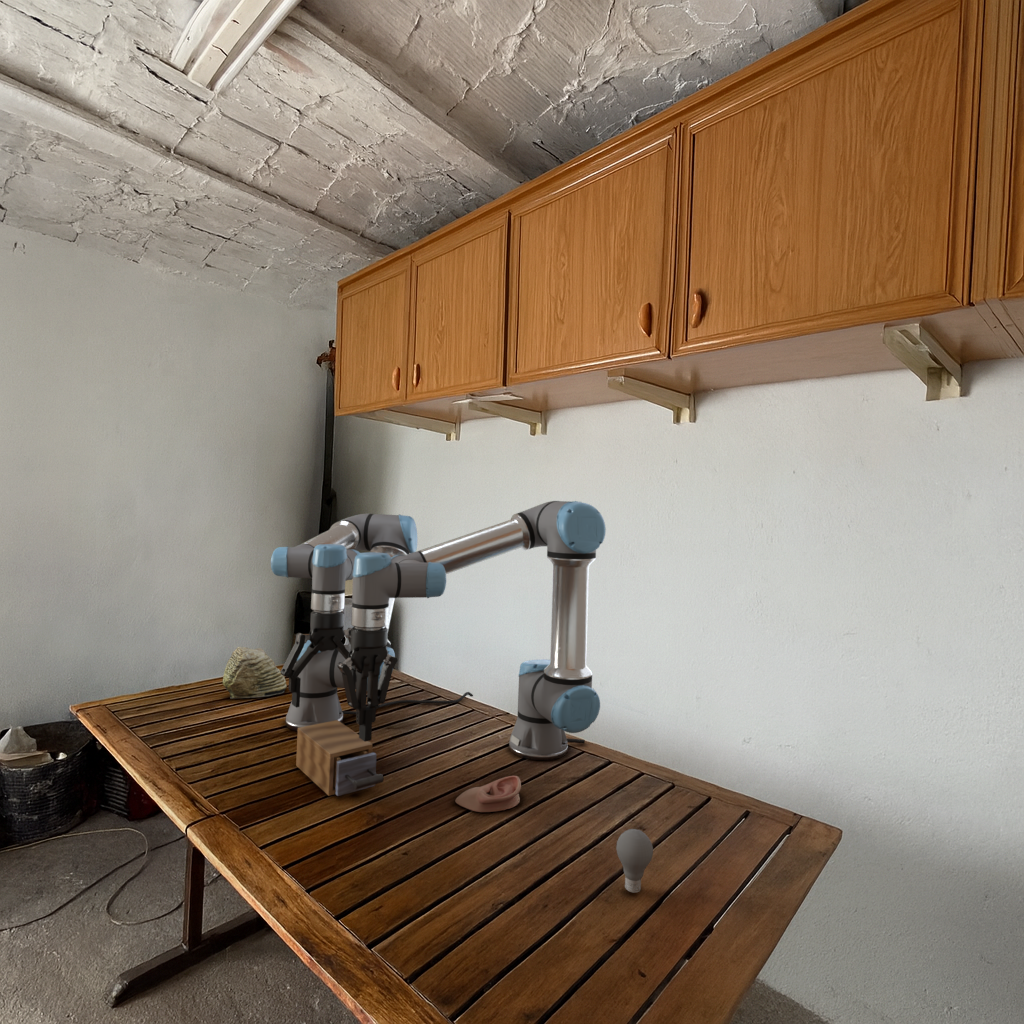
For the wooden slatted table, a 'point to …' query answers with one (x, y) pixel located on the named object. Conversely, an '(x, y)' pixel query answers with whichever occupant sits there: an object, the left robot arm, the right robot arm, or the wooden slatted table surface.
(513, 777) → the anatomical model
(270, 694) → the fossil
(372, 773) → the drawer
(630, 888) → the light bulb
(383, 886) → the wooden slatted table surface
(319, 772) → the cabinet
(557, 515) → the right robot arm
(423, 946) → the wooden slatted table surface
